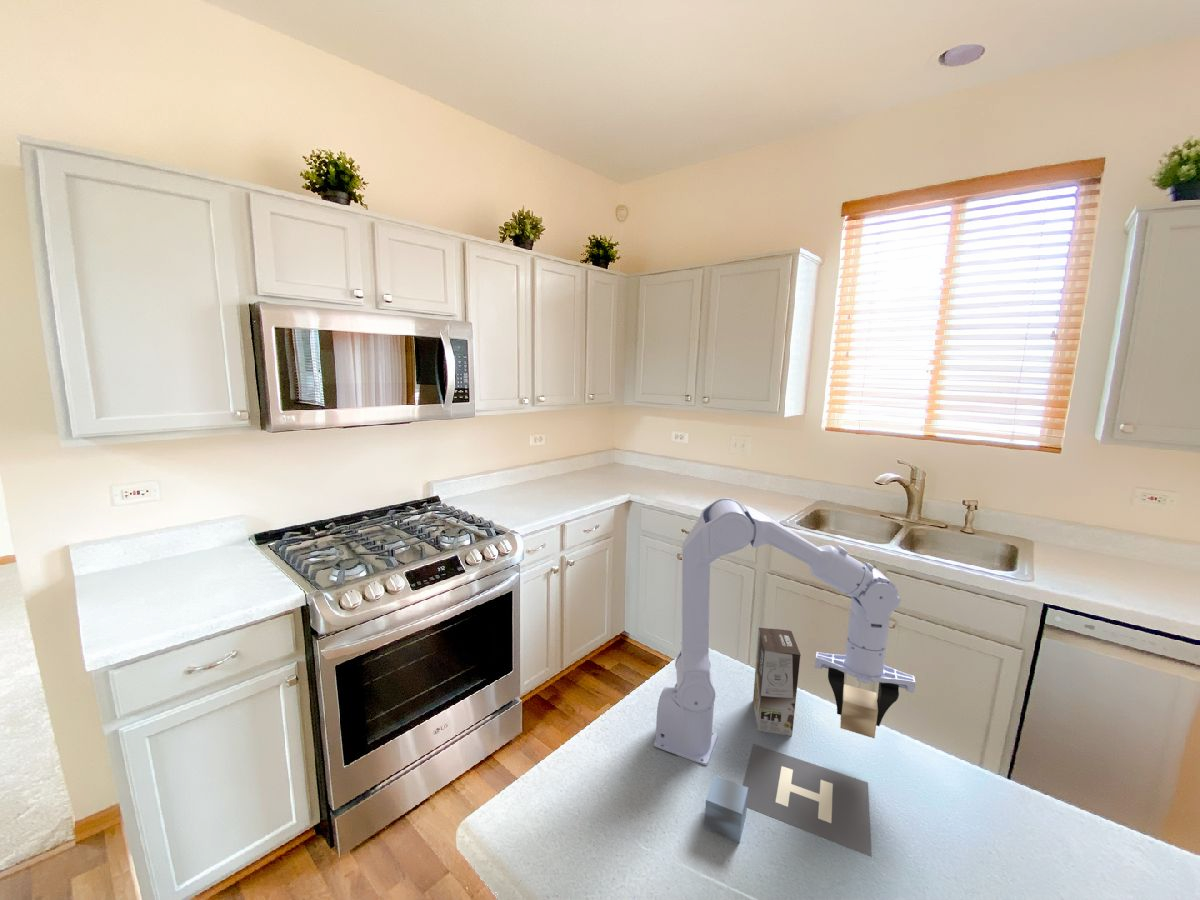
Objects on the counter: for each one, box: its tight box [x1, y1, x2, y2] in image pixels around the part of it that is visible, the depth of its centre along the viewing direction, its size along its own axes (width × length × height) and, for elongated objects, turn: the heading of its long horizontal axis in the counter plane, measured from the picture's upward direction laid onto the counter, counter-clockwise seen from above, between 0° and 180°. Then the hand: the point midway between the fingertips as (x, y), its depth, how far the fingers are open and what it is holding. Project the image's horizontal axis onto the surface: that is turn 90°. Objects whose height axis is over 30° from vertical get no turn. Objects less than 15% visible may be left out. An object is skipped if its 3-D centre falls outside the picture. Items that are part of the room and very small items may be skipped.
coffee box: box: [752, 627, 801, 737], centre depth 94 cm, size 9×6×16 cm
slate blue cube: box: [703, 774, 748, 844], centre depth 72 cm, size 5×5×5 cm
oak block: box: [839, 683, 878, 739], centre depth 83 cm, size 5×5×5 cm
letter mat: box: [742, 743, 873, 858], centre depth 78 cm, size 18×14×1 cm
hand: (857, 716), depth 84 cm, fingers closed on oak block, 5 cm apart
